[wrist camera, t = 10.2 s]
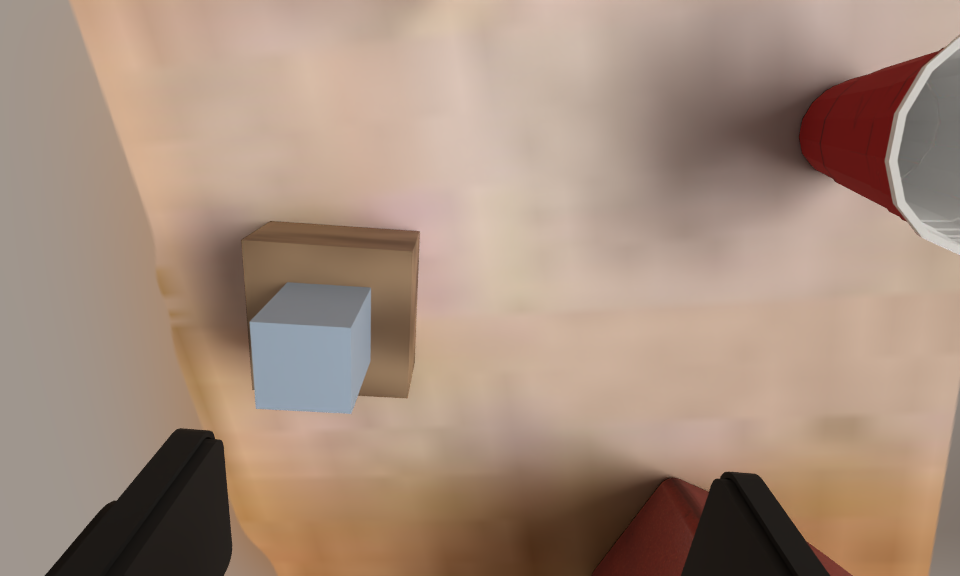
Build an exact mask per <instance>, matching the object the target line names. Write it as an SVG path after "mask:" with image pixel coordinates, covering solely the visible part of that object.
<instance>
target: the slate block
mask: <svg viewBox="0 0 960 576" xmlns="http://www.w3.org/2000/svg"><path fill="white" fill-rule="evenodd" d="M250 335H251V348H252V362H253V375H254V389H255V402H256V409H272V410H291V411H310V412H328V413H347V414H351V413H352V410H353V408H354V405H355V402H356V399H357V397H358V394H359V391H360V388H361V386H362V383H363V380H364V377H365V375H366V372H367V369H368V367H369V364H370V352H371V288H370V287H354V286H338V285H322V284H307V283H291V282H287V283H286V284H285V285H284V286H283V287H282V289H281V290H280V291H279V292H278V293H277V294H276V295H275V296H274V297H273V298H272V299H271V300H270V301H269V302H268V303H267V304H266V305H265V306H264V307H263V308H262V309H261V310H260V311H259V312H258V314H257V315H256V316H255V317H254V318H253V319H252V320H251V321H250Z"/></svg>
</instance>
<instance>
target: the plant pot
mask: <svg viewBox="0 0 960 576" xmlns="http://www.w3.org/2000/svg"><path fill="white" fill-rule="evenodd" d="M708 494H709V492H707V491H705V490H703V489H701V488H698V487H696V486H694V485H692V484H689V483H687V482H685V481H683V480H681V479H677V478H670V479H667V480H665V481H663V482H662V483H661V484H660V486H659V487H658V488H657V489H656V491H655V492H654V493H653V495H652V496H651V497H650V499H649V500H648V501H647V503H646V504H645V505H644V506H643V508H642V509H641V510H640V512H639V513H638V514H637V516H636V517H635V518H634V520H633V521H632V522H631V523H630V525H629V526H628V527H627V529H626V530H625V531H624V532H623V534H622V535H621V536H620V538H619V539H618V540H617V542H616V543H615V544H614V546H613V547H612V548H611V550H610V551H609V552H608V553H607V555H606V556H605V557H604V559H603V560H602V561H601V563H600V564H599V565H598V566H597V568H596V569H595V570H594V572H593V573H592V576H681V573H682V570H683V567H684V565H685V562H686V559H687V556H688V553H689V550H690V547H691V544H692V541H693V538H694V535H695V532H696V529H697V526H698V523H699V520H700V517H701V514H702V511H703V508H704V505H705V502H706V499H707V496H708ZM806 542H807V541H806ZM807 543H808V542H807ZM808 545H809V546H810V548H811V549H812V550H813V552H814V553H815V555H816V556H817V558H818V559H819V560H820V562H821V563H822V565H823V566H824V567H825V569H826V570H827V572H828V573H829V574H830V576H852V575H851V574H850V573H848V572H847V571H846V570H844V569H843V568H842V567H841V566H839V565H838V564H837V563H835V562H834V561H833V560H831V559H830V558H829V557H827V556H826V555H824V554H823V553H822V552H820V551H819V550H818V549H816V548H815V547H813V546H812V545H811V544H809V543H808Z"/></svg>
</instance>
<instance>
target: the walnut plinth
mask: <svg viewBox="0 0 960 576" xmlns="http://www.w3.org/2000/svg"><path fill="white" fill-rule="evenodd" d="M419 237H420V231H405V230H391V229H376V228H362V227H347V226H333V225H318V224H304V223H289V222H275V221H270V222H269V223H267V224H266V225H264V226H262V227H261V228H259V229H258V230H256V231H255V232H253V233H252V234H250V235H248V236H247V237H245V238H244V239H242V240H241V244H242V257H243V270H244V284H245V297H246V310H247V323H248V337H249V350H250V363H251V377H252V390H255V389H254V375H253V362H252V348H251V335H250V321H251V320H252V319H253V318H254V317H255V316H256V315H257V314H258V312H259V311H260V310H261V309H262V308H263V307H264V306H265V305H266V304H267V303H268V302H269V301H270V300H271V299H272V298H273V297H274V296H275V295H276V294H277V293H278V292H279V291H280V290H281V289H282V287H283V286H284V285H285V284H286V283H287V282H291V283H307V284H322V285H338V286H354V287H370V288H371V352H370V364H369V367H368V369H367V372H366V375H365V377H364V380H363V383H362V386H361V388H360V391H359V394H358V396H374V397H393V398H408V393H409V388H410V383H411V378H412V373H413V368H414V363H415V339H416V313H417V288H418V262H419Z"/></svg>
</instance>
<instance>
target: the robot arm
mask: <svg viewBox="0 0 960 576" xmlns="http://www.w3.org/2000/svg"><path fill="white" fill-rule="evenodd" d="M231 554H232V538H231V527H230V515H229V504H228V492H227V480H226V469H225V457H224V446H223V442H222V440H217V439H215V437H214V434H213V432H212V431H207V430H194V429H181V428H180V429H177V430H175V431H174V432H173V433H172V434H171V436H170V437H169V438H168V439H167V441H166V442H165V443H164V444H163V446H162V447H161V448H160V449H159V450H158V451H157V453H156V454H155V455H154V456H153V457H152V459H151V460H150V461H149V462H148V463H147V465H146V466H145V467H144V468H143V470H142V471H141V472H140V473H139V474H138V476H137V477H136V478H135V479H134V480H133V482H132V483H131V484H130V485H129V487H128V488H127V489H126V490H125V491H124V493H123V494H122V495H121V496H120V497H119V499H118V500H117V501H112V502H110V503H108V504H107V505H105V507H103V508H102V509H101V510H100V511H99V513H98V514H97V515H96V516H95V517H94V518H93V519H92V521H91V522H90V523H89V524H88V525H87V526H86V528H85V529H84V530H83V531H82V533H81V534H80V535H79V536H78V537H77V538H76V539H75V541H74V542H73V543H72V544H71V545H70V547H69V548H68V549H67V550H66V551H65V552H64V554H63V555H62V556H61V557H60V559H59V560H58V561H57V562H56V563H55V564H54V565H53V567H52V568H51V569H50V570H49V572H48V573H47V574H46V575H45V576H224V574H225V572H226V570H227V568H228V565H229V562H230V559H231ZM681 576H830V574H829V573H828V572H827V570H826V569H825V567H824V566H823V565H822V563H821V562H820V560H819V559H818V558H817V556H816V555H815V553H814V552H813V550H812V549H811V548H810V546H809V545H808V543H807V542H806V541H805V539H804V538H803V536H802V535H801V533H800V532H799V531H798V529H797V528H796V526H795V525H794V524H793V522H792V521H791V519H790V518H789V517H788V515H787V514H786V512H785V511H784V509H783V508H782V507H781V505H780V504H779V502H778V501H777V500H776V498H775V497H774V495H773V494H772V492H771V491H770V490H769V488H768V487H767V485H766V484H765V483H764V481H763V480H762V479H761V478H760V477H759V476H758V475H756V474H751V473H738V472H724V473H723V474H722V476H721V478H720V479H715V480H714V481H713V483H712V485H711V488H710V491H709V494H708V496H707V499H706V502H705V505H704V508H703V511H702V514H701V517H700V520H699V523H698V526H697V529H696V532H695V535H694V538H693V541H692V544H691V547H690V550H689V553H688V556H687V559H686V562H685V565H684V567H683V570H682V573H681Z"/></svg>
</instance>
